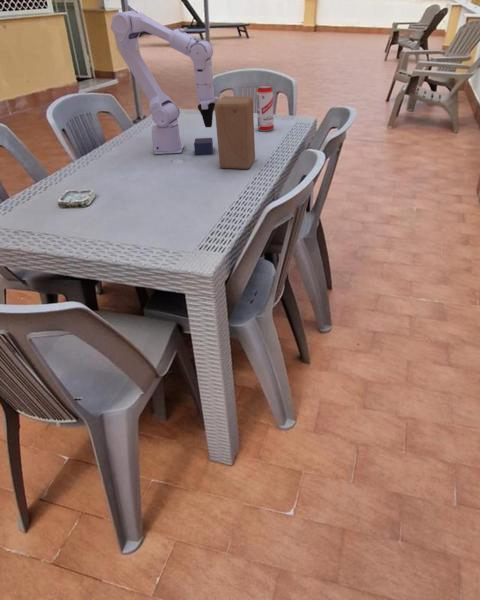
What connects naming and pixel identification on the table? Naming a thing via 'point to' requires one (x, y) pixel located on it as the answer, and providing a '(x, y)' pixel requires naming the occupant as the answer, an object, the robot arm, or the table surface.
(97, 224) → the table surface
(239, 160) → the wooden block
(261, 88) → the beer can
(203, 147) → the navy block
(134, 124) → the table surface
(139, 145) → the table surface
